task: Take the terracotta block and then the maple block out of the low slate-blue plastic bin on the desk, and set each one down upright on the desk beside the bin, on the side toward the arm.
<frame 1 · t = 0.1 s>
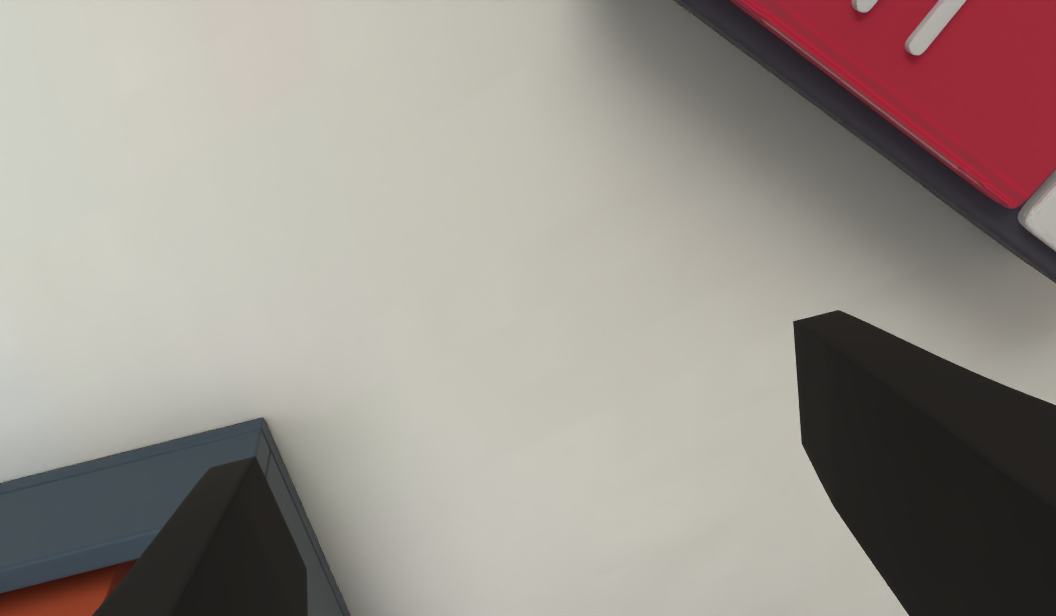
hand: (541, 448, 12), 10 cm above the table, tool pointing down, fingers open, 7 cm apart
terracotta block: (87, 599, 24), resting on bin
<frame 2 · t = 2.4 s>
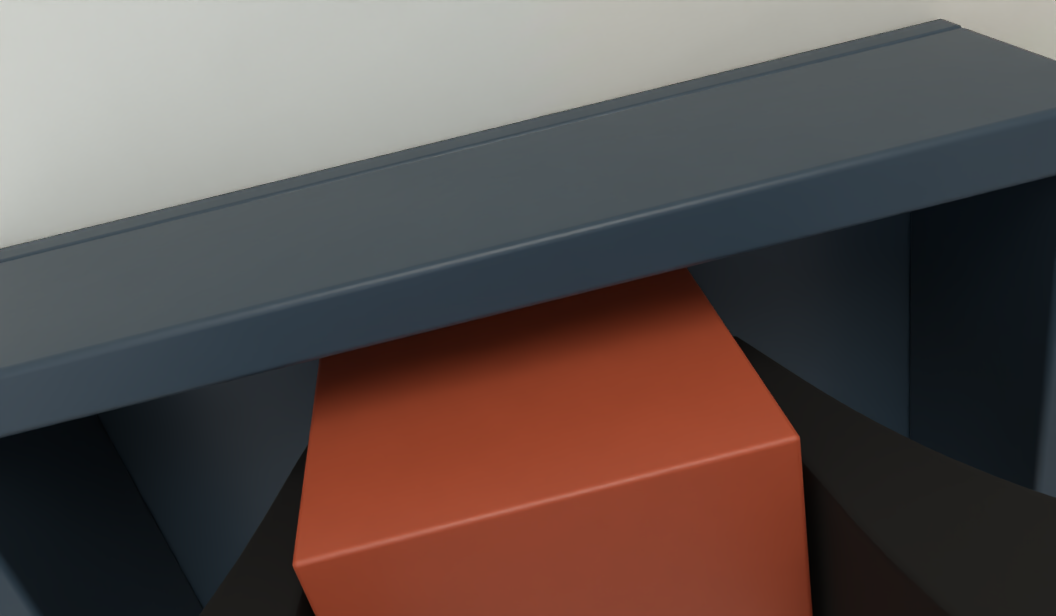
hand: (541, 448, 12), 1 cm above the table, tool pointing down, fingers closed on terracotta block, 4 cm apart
terracotta block: (529, 410, 13), resting on bin, touching gripper
bin: (567, 551, 15), on the table
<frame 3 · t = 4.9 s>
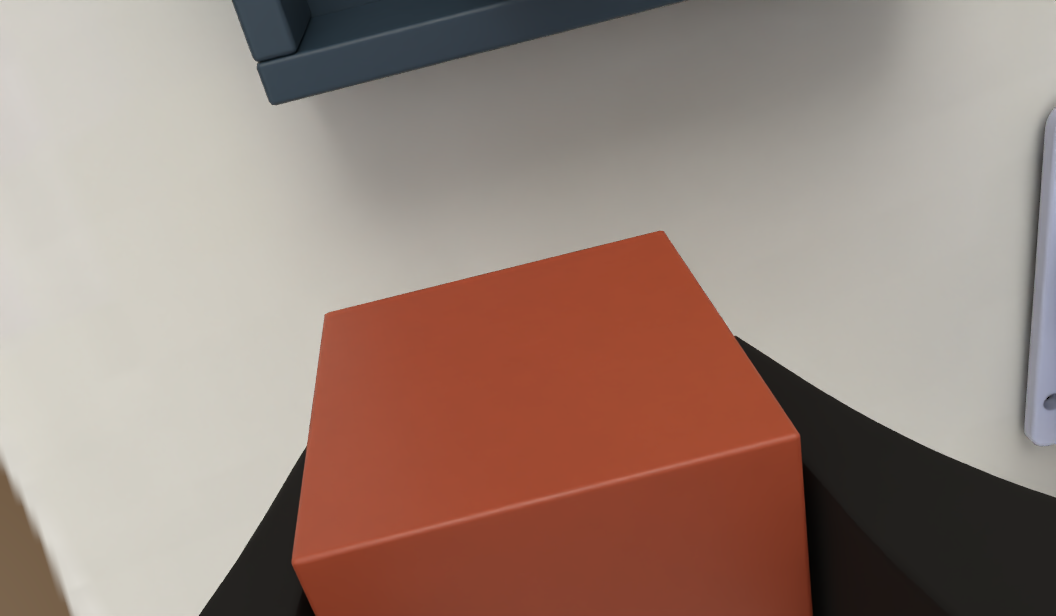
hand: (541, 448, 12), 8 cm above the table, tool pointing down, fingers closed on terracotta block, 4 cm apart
terracotta block: (529, 409, 13), point 7 cm above the table, touching gripper
when the fingers open (1 cm above the table, at t = 7.7 s): terracotta block stays where it is, on the table.
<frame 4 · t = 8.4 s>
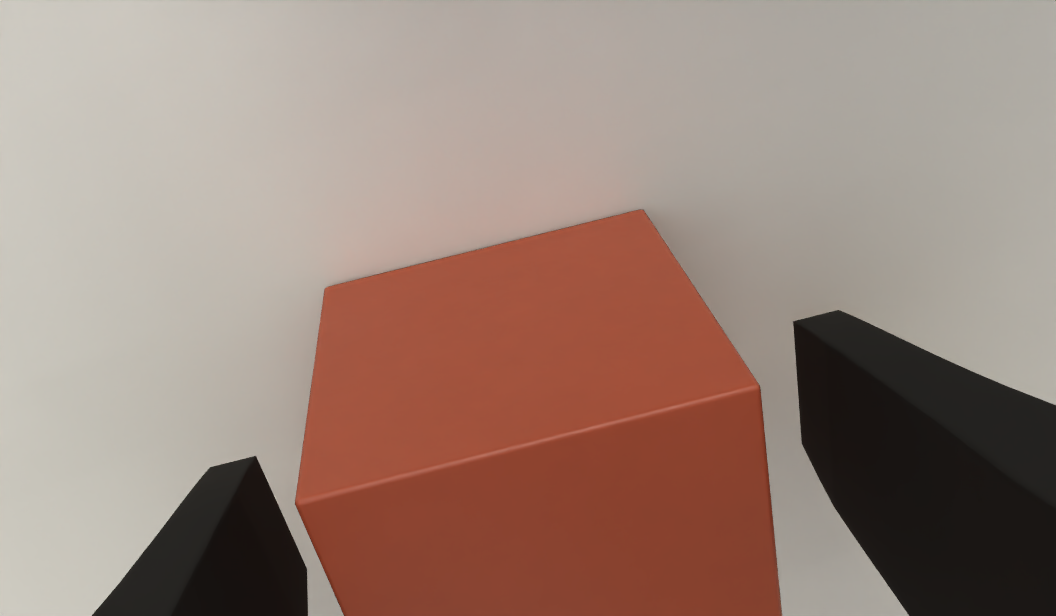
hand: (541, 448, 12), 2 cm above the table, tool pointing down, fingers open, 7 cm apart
terracotta block: (518, 380, 13), on the table
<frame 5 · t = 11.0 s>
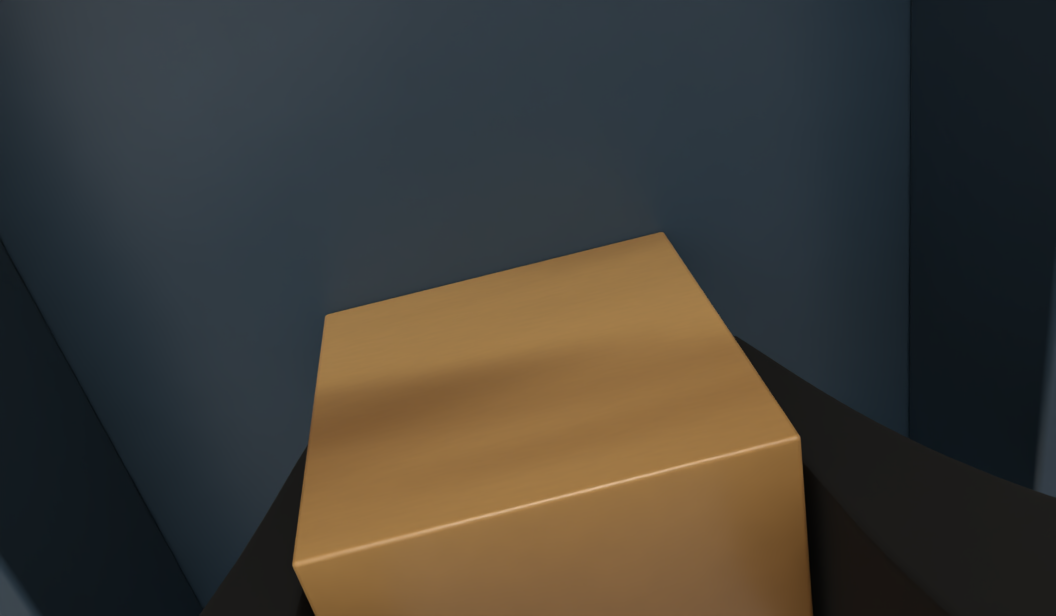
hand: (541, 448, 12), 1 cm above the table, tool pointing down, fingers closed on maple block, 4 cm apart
maple block: (529, 410, 13), resting on bin, touching gripper
bin: (475, 185, 12), on the table
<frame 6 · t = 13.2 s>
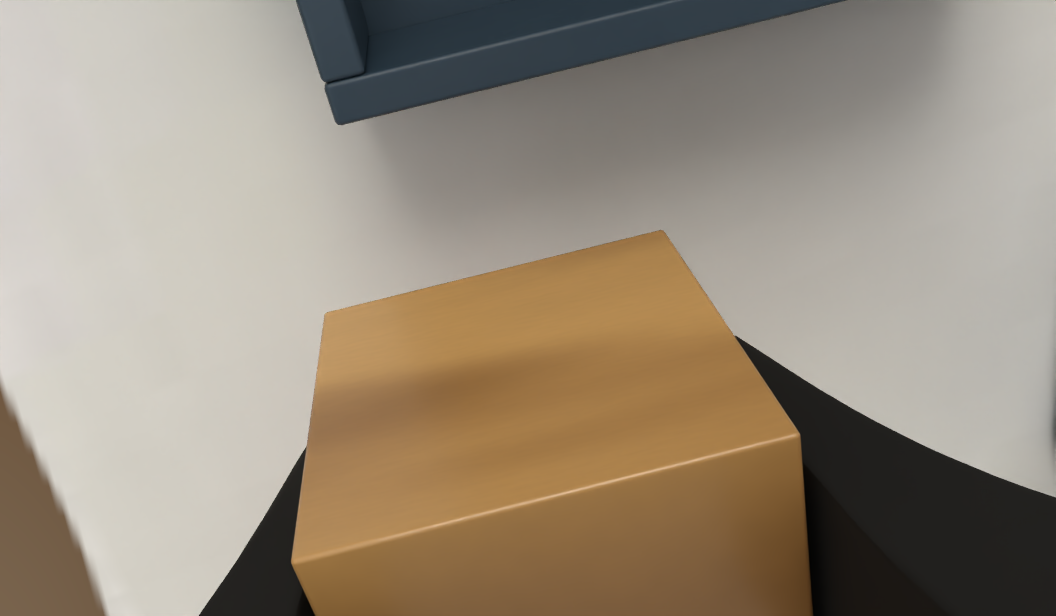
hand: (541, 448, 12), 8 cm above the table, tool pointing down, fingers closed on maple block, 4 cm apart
maple block: (529, 408, 13), point 7 cm above the table, touching gripper
when the fingers open (1 cm above the table, at t = 15.5 s): maple block stays where it is, on the table.
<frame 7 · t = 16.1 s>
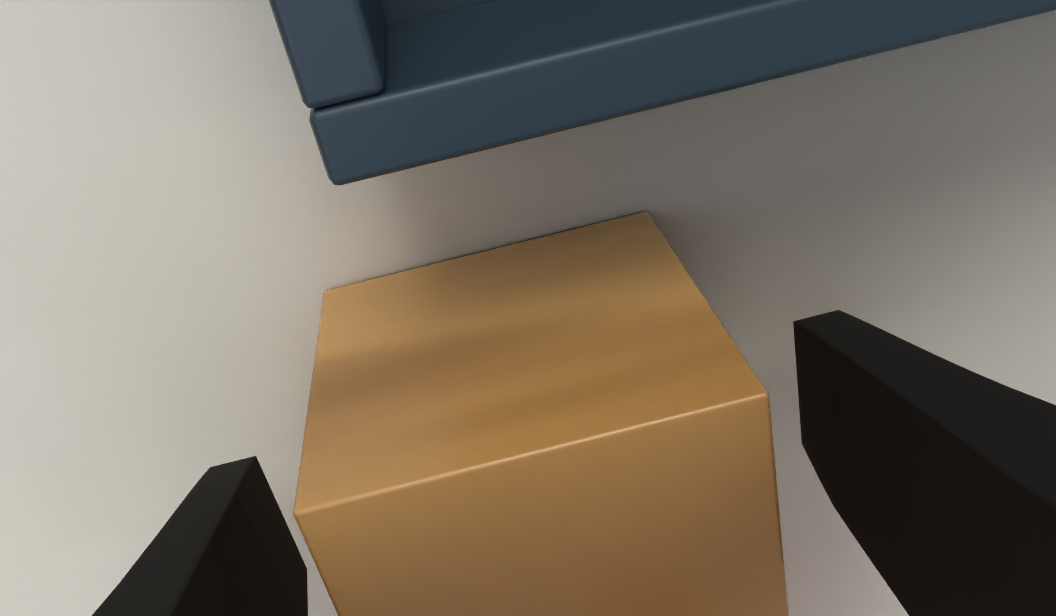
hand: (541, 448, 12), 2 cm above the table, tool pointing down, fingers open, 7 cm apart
maple block: (520, 384, 13), on the table
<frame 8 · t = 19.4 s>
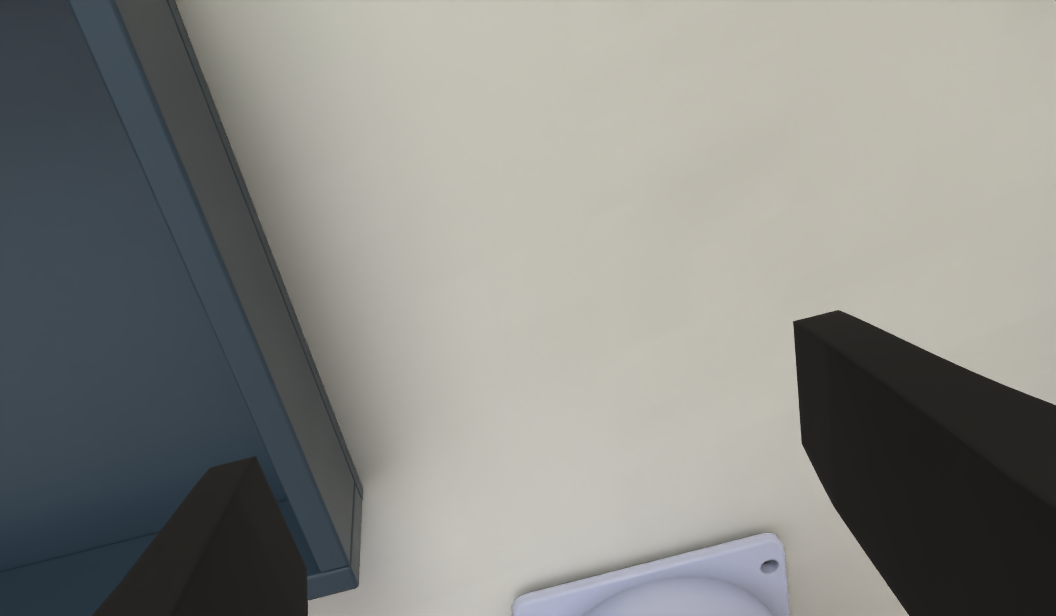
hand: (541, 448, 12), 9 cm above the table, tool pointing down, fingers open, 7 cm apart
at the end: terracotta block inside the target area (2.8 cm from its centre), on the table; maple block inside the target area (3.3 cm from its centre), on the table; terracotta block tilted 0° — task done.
